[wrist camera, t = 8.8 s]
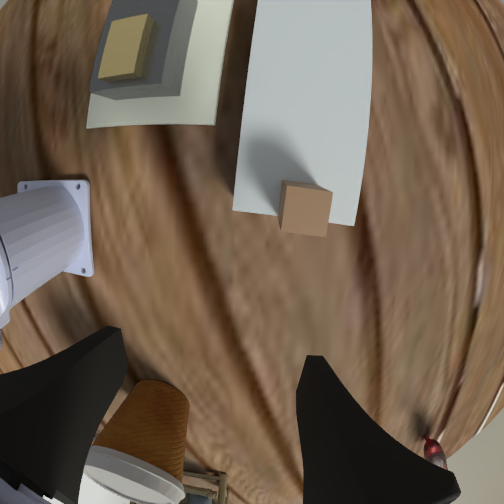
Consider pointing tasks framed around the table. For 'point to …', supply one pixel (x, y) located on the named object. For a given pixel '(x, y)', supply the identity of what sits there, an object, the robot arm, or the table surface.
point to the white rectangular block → (306, 113)
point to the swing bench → (204, 491)
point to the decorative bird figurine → (434, 453)
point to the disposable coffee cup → (143, 446)
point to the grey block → (143, 49)
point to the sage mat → (193, 83)
